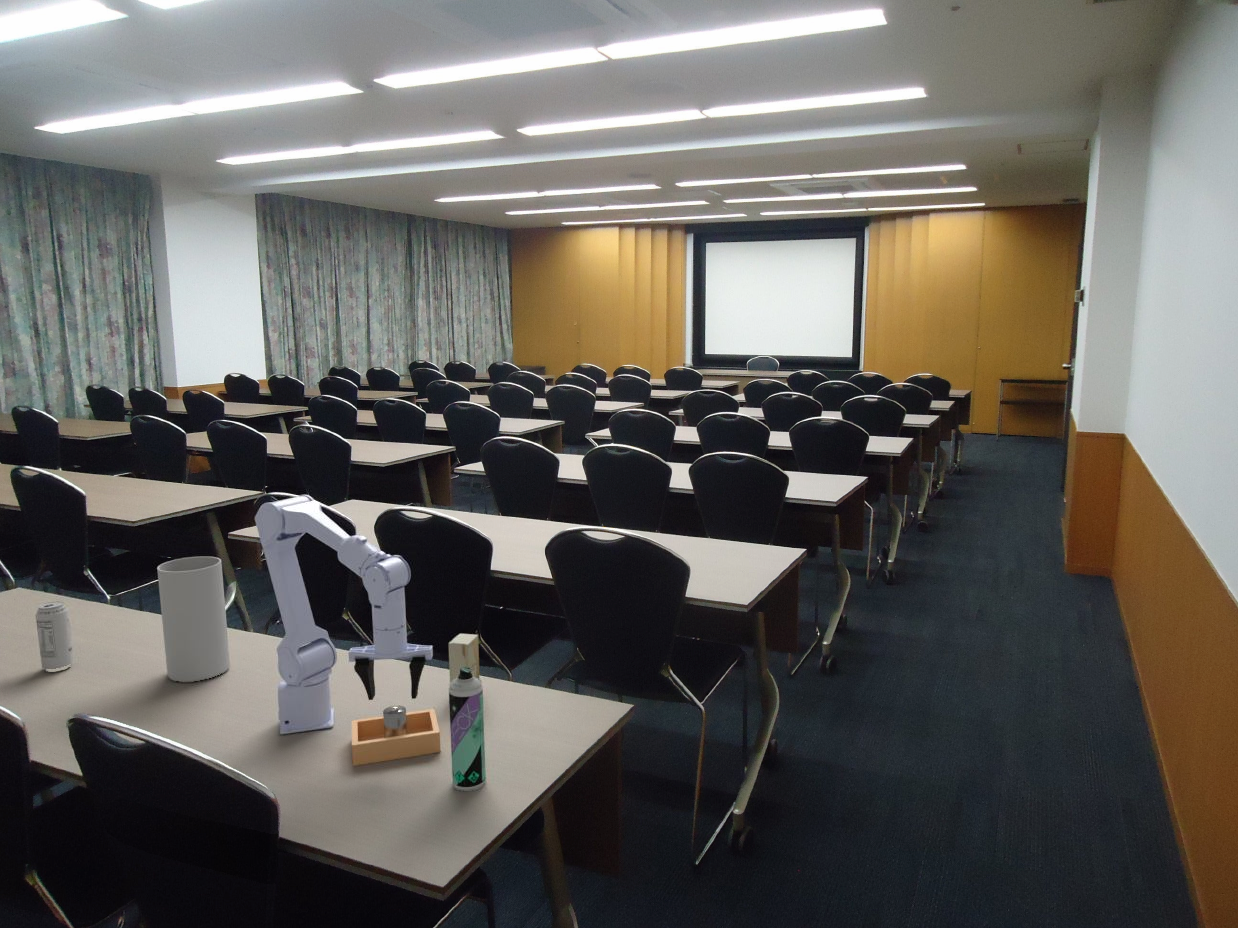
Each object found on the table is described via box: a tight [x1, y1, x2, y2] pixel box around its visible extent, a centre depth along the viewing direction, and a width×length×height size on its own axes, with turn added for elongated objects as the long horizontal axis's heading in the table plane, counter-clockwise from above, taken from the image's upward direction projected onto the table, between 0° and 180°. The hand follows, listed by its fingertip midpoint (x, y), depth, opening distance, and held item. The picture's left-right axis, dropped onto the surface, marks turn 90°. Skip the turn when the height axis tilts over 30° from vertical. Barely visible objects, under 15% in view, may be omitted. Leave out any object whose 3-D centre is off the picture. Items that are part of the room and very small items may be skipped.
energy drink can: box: [35, 601, 75, 670], centre depth 188 cm, size 6×6×15 cm
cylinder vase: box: [156, 556, 231, 683], centre depth 184 cm, size 12×12×25 cm
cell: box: [382, 704, 407, 738], centre depth 151 cm, size 4×4×7 cm
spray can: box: [448, 667, 487, 792], centre depth 138 cm, size 6×6×20 cm
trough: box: [351, 708, 442, 767], centre depth 152 cm, size 15×10×4 cm, turn 108°
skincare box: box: [448, 633, 480, 683], centre depth 172 cm, size 6×4×12 cm
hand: (393, 696), depth 151 cm, fingers open, 7 cm apart
